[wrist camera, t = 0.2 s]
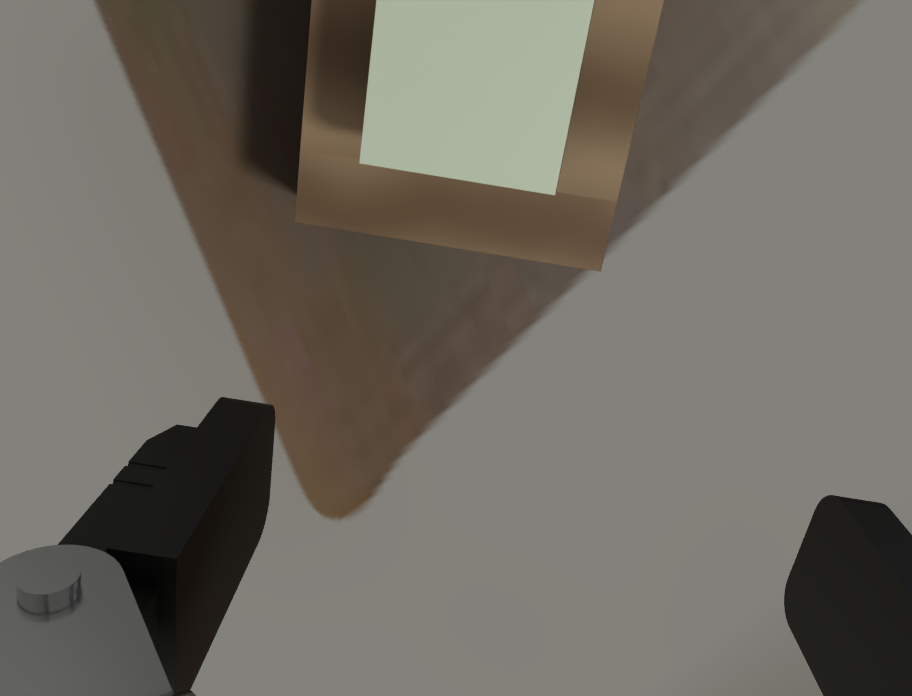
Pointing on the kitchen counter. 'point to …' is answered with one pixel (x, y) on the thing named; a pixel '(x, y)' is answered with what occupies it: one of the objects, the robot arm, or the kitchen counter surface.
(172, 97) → the kitchen counter surface
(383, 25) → the plate
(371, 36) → the wooden tray
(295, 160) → the kitchen counter surface
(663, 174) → the kitchen counter surface
